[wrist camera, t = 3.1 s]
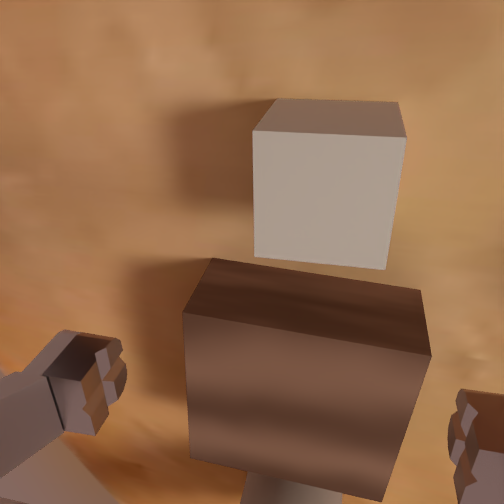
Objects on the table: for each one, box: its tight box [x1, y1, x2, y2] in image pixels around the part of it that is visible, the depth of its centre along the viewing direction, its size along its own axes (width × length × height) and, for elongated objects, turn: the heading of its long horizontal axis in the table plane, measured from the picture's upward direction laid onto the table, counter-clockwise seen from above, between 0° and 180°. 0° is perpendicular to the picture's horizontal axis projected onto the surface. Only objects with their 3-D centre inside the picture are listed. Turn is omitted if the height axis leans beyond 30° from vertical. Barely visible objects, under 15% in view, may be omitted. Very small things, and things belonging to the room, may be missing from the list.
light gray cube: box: [252, 98, 407, 270], centre depth 22 cm, size 6×6×6 cm
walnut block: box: [182, 258, 432, 502], centre depth 29 cm, size 13×13×6 cm
